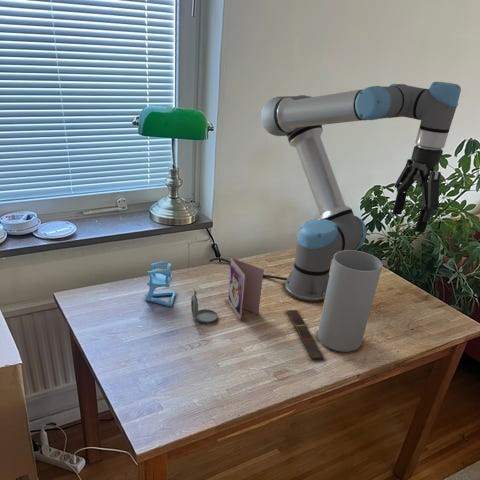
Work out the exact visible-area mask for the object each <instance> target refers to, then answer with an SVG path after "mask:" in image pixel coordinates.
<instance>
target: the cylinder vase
mask: <svg viewBox="0 0 480 480" xmlns="http://www.w3.org/2000/svg"><path fill="white" fill-rule="evenodd" d="M383 267H384V266H383V262H382V260H381V259H380V258H378V257H377V256H375V255H373V254H371V253H368V252H365V251H360V250H355V251H354V250H344V251H339V252H337V253H335V254H334V256H333V259H332V261H331V266H330V271H329V281H328V285H327V290H326V295H325V300H323V305H322V309H321V310H322V311H321V315H320V319H319V324H318V329H317V339H318V340H319V342H320V343H321V344H322V345H323V346H325V347H326V348H328V349H330V350H333V351H336V352H340V353H342V352H343V353H348V352H349V353H350V352H354V351H356V350H357V349H358V350H359V348H360V347H361V345H362V343H363V339H364V336H365V332H366V328H367V324H368V321H369V317H370V315H371V310H372V306H373V303H374V299H375V295H376V292H377V288H378V285H379V280H380V276H381V273H382V269H383Z"/></svg>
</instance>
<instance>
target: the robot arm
mask: <svg viewBox="0 0 480 480" xmlns="http://www.w3.org/2000/svg"><path fill="white" fill-rule="evenodd" d="M461 91H462V87H461V85H459V84H458V83H452V82H445V81H433V82H431V84H430V87H429V88H422V87H418V86H414V85H413V86H412V85H407V84H405V83H391V84H390V85H388V86H383V85H372V86H368V87H365V88H363V89H356V90H349V91H343V92H336V93H329V94H324V95H317V96H310V95H304V94H302V95H301V94H300V95H295V96H294V95H293V96H291V95H289V96H285V95H284V96H275V97H272V98H271V99H269V100H268V101H266V102H265V104H264V105H263V107H262V109H261V114H260V122H261V124H262V127H263V129H264V130H265V131H266V132H267V133H269V134H270V135H272V136H276V137H286V138H287V141H288V144H289V146H291V147H293V148H295V149H296V152H297V154H298V157H299V160H300V164H301V166H302V168H303V172H304V174H305V176H306V179H307V182H308V184H309V187H310V190H311V194H312V195H313V198H314V201H315V204H316V206H317V209H318V212H319V215H320V217H319V219H318V218H313V219H309V220H306V221H305V222H303V223H302V224H301V226H300V227H299V232H298V233H297V243H296V247H295V255H294V263H293V267H292V269H291V270H290V273H289V274H288V277H282V276H278V275H277V276H276V275H268V274H263V278H268V279H275V280H281V281H285V284H284V291H285V292H286V293H287V294H288V295H289V296H290V297H292V298H294V299H296V300H299V301H302V302H308V303H317V302H318V303H319V302H324V300H325V295H326V290H327V285H328V281H329V276H330V271H331V266H332V261H333V256H334V254H335V253H337V252H339V251H344V250H354V251H358V250H359V249H361V247H362V246H363V245H364V243H365V241H366V238H367V227H366V223H365V222H364V221H363V219H362V218H360V217H359V216H357V215H355V214H354V211H353V209H352V207H350V206H348V205H346V204H345V201H344V198H343V195H342V192H341V189H340V187H339V184H338V182H337V179H336V176H335V173H334V170H333V167H332V165H331V162H330V159H329V156H328V154H327V150H326V147H325V145H324V142H323V140H322V137H321V136H322V134H323V131H324V129H323V126H324V125H333V124H342V123H352V122H361V121H362V122H363V121H375V120H382V119H393V118H408V119H412V120H413V119H414V120H418V121H420V124H419V128H418V131H417V135H416V139H415V142H414V144H416V145H415V146H414V147H413V149H412V154H411V157H410V158H408V159H406V163H405V165H404V168H403V169H402V171H401V173H400V174H399V177H398V178H397V180H396V181H395V183H394V188H395V189H396V196H395V201H394V204H393V208H392V213H391V215H394V216H395V215H396V216H397V215H398V216H399V215H400V216H401V215H402V213H403V210H404V206H405V203H406V199H407V196H408V192H409V191H408V190H409V189H410V188H411V187H412V186H413V184H415V182H416V183H418V185H419V187H420V190H421V199H422V207H421V208H420V210H419V214H418V217H417V220H416V223H415V227H414V232H415V233H425V232H426V227H427V225H428V223H429V221H430V218H431V217H430V216H431V214H432V212H433V211H437V210H439V203H440V202H439V200H440V199H439V198H440V180H441V176H442V172H441V171H435V167H436V166H437V165H439V164H440V163H441V159H442V157H443V153H444V150H443V149H444V148H445V146H446V142H447V139H448V136H449V132H450V129H451V126H452V124H453V119H454V116H455V113H456V110H457V108H458V106H459V100H460V95H461ZM215 261H221V262H225V263H228V264H230V265H231V260H229V259H226V258H223V257H213V258H211V259H210V260H208V262H210V263H212V262H215Z"/></svg>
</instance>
